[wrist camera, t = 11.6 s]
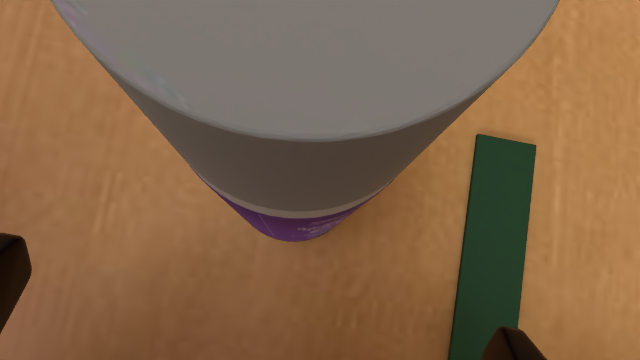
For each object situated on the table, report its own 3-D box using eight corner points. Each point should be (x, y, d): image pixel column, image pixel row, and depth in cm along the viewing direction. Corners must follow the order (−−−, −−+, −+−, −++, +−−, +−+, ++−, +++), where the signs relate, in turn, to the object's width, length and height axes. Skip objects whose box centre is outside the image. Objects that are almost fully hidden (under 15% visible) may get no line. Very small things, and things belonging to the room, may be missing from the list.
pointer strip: (510, 378, 18) (512, 379, 18) (447, 366, 18) (448, 368, 17) (534, 146, 19) (536, 145, 19) (476, 135, 19) (478, 133, 19)
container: (317, 264, 18) (442, 283, 3) (209, 203, 18) (-143, -45, 3) (375, 158, 19) (683, -213, 4) (271, 101, 19) (205, -459, 4)
